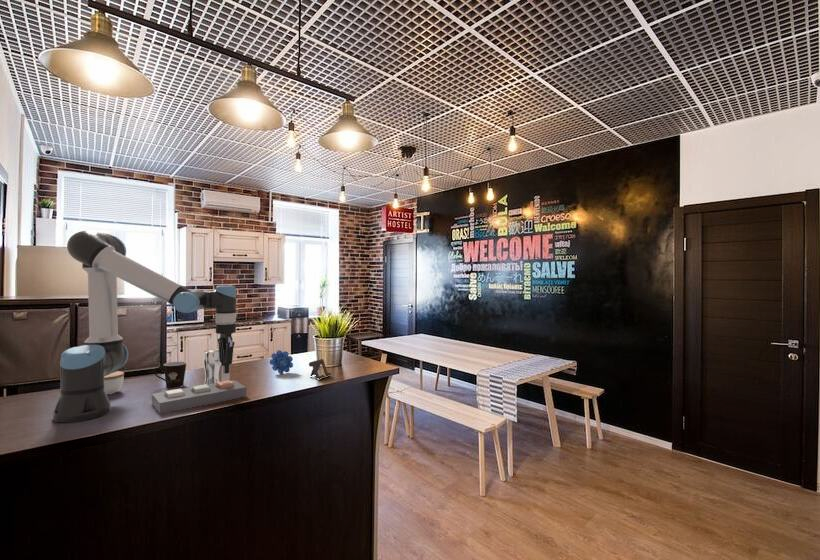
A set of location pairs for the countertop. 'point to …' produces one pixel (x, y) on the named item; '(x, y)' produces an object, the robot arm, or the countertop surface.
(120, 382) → the lidded jar
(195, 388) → the sage key
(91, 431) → the countertop surface
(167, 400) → the keypad
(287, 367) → the blue gear
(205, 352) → the beer glass
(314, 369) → the portable electronic device stand
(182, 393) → the cream key
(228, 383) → the terracotta key
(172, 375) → the coffee mug
